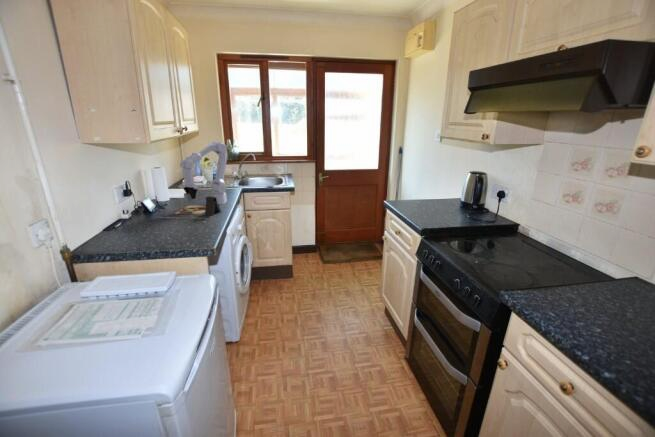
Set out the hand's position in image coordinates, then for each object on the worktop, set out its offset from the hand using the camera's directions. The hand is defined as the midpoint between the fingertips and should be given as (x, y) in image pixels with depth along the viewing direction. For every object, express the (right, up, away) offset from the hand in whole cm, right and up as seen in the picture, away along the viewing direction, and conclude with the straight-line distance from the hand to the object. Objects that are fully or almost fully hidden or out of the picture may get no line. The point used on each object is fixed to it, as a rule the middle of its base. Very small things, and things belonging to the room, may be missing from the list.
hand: (191, 198), depth 198 cm
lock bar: (0, -1, 0) cm, 1 cm away
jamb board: (+1, -8, +3) cm, 9 cm away
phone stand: (+16, -11, -4) cm, 20 cm away
